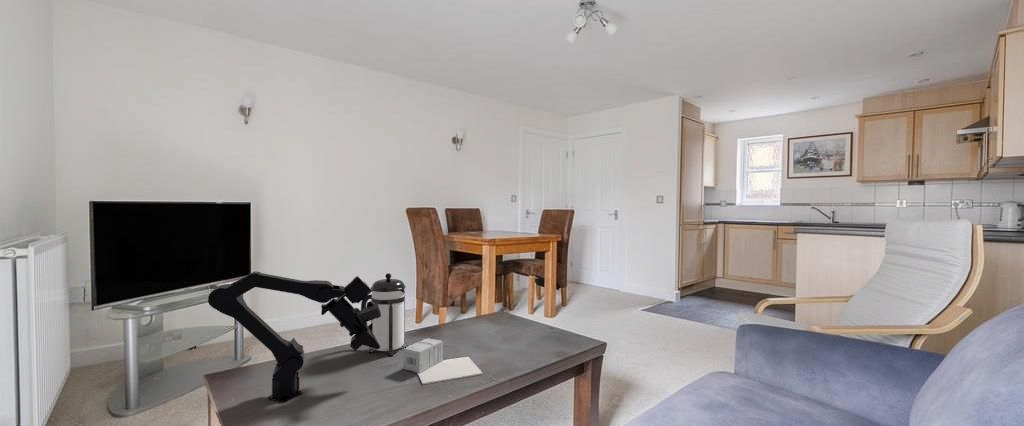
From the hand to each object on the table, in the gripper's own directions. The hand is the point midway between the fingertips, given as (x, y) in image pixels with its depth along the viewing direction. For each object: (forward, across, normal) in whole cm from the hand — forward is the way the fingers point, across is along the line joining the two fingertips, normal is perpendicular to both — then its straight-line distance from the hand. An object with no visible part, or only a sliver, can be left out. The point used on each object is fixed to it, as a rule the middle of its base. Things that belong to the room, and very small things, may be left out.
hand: (379, 347), depth 129 cm
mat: (+22, 0, -10) cm, 25 cm away
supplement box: (+11, +2, -4) cm, 12 cm away
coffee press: (+12, +27, +6) cm, 30 cm away
